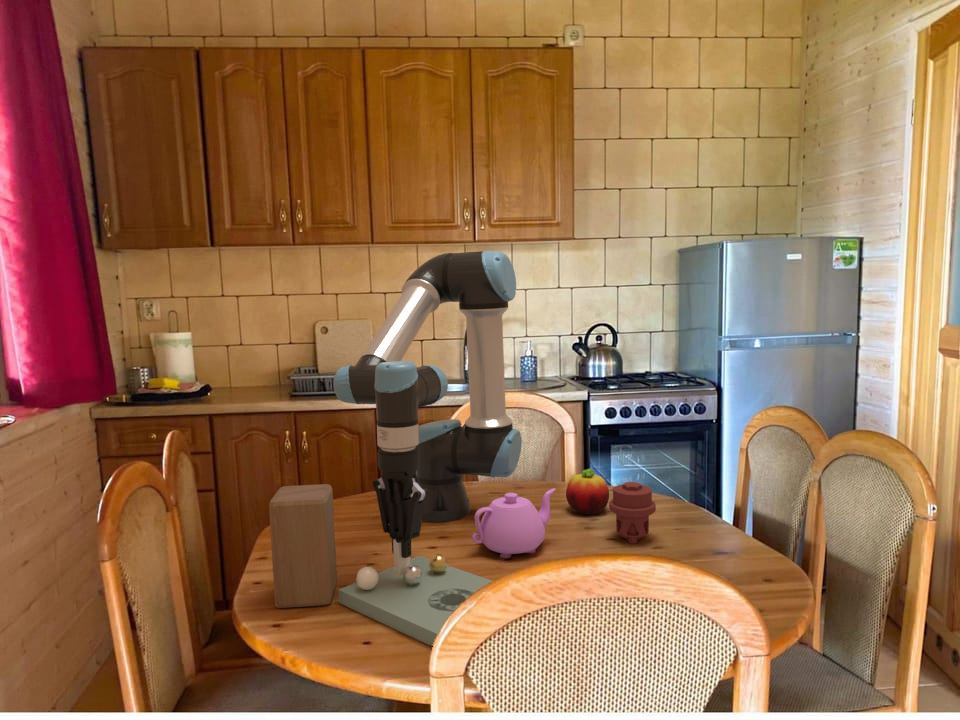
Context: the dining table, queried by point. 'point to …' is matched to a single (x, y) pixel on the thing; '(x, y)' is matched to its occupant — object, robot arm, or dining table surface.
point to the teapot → (512, 524)
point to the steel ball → (412, 575)
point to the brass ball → (438, 563)
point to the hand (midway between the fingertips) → (402, 572)
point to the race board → (413, 599)
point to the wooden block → (303, 545)
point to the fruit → (587, 493)
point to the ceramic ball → (367, 578)
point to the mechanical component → (632, 510)
